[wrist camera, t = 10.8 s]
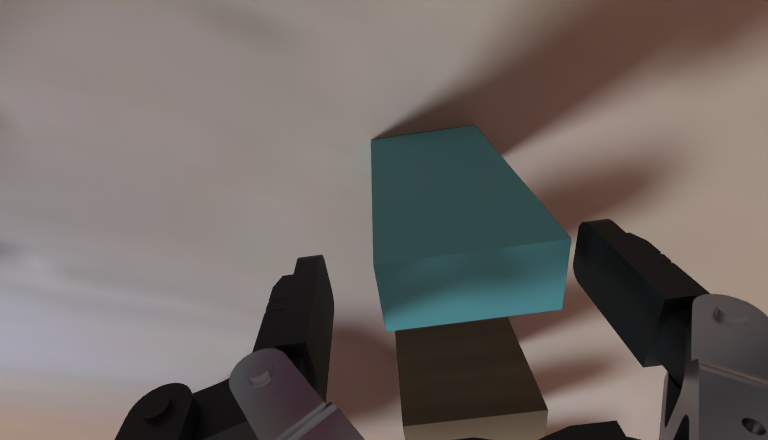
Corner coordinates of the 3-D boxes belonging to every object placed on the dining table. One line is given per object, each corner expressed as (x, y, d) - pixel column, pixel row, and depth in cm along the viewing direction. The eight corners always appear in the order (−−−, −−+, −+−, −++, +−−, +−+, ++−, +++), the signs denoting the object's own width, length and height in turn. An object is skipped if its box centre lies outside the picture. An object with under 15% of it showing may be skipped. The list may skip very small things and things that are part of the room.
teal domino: (475, 171, 19) (561, 309, 11) (378, 185, 20) (386, 331, 11) (474, 124, 18) (571, 238, 10) (371, 139, 18) (373, 264, 10)
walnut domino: (476, 279, 23) (542, 449, 14) (394, 289, 23) (409, 463, 14) (476, 246, 22) (548, 410, 13) (389, 257, 22) (402, 426, 13)
